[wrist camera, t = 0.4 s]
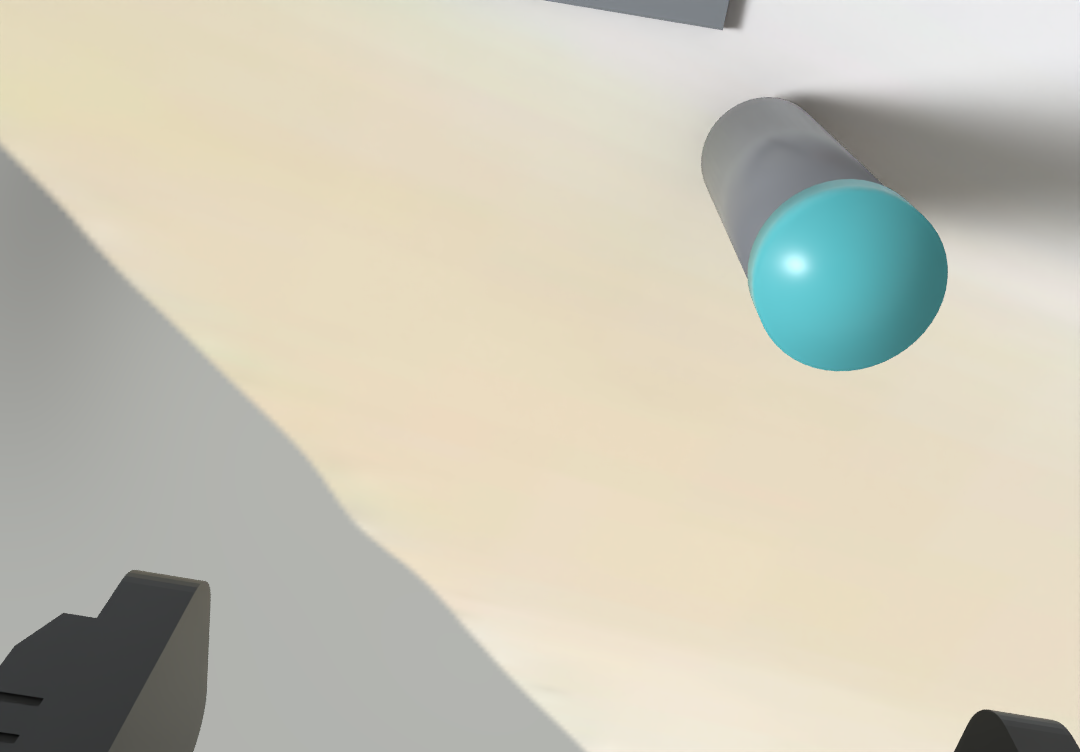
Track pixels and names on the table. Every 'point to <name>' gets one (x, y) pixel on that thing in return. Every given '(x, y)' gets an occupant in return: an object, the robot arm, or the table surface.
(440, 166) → the table surface
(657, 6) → the grey tablet
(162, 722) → the robot arm
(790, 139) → the marker
